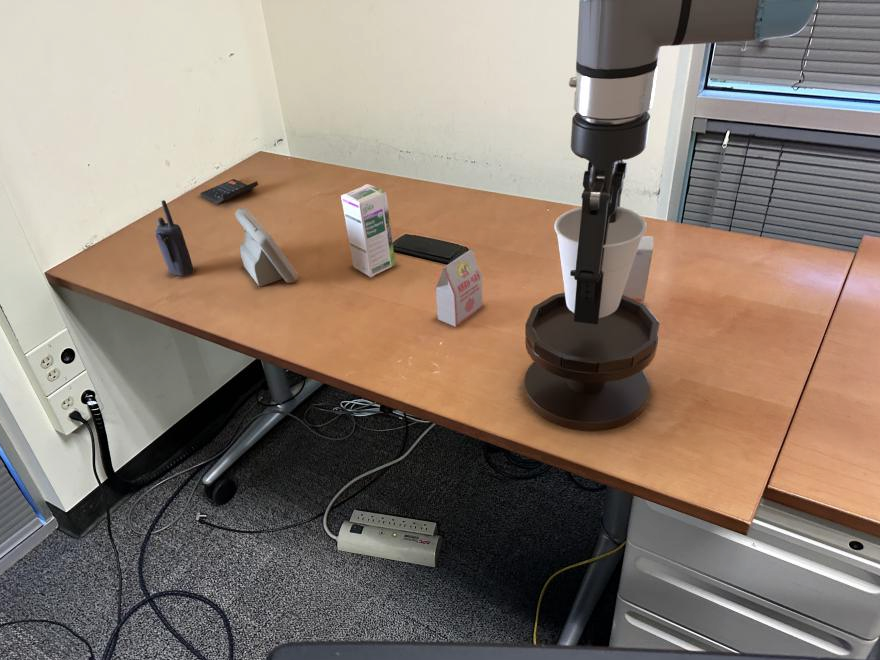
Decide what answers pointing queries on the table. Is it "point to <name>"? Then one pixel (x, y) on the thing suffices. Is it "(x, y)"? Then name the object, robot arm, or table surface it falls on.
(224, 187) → the calculator
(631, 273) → the cosmetic box
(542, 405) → the cup stand
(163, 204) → the two-way radio
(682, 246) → the table surface
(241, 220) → the digital clock
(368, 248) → the syrup box
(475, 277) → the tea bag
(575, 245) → the cup
